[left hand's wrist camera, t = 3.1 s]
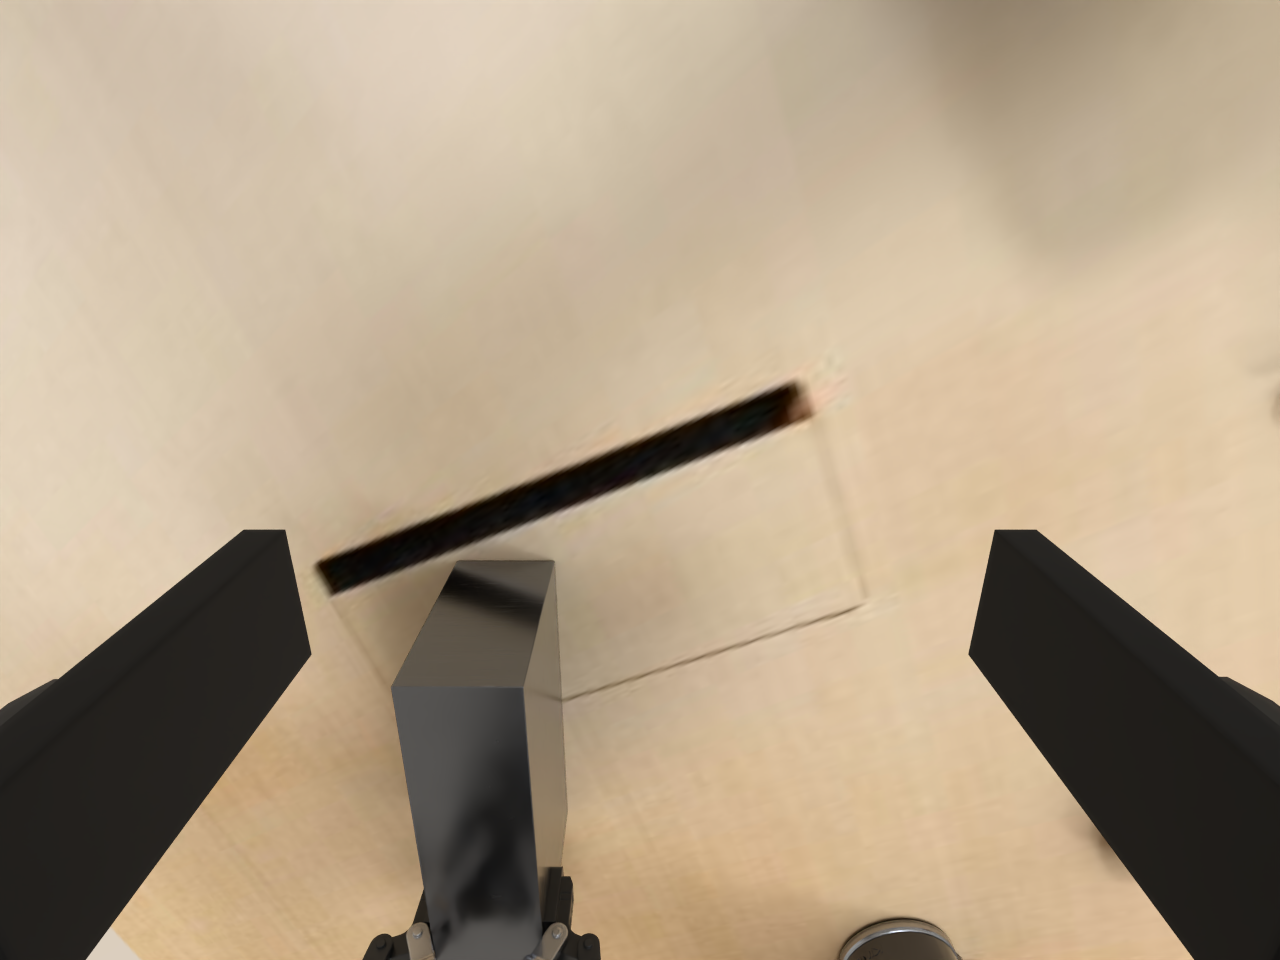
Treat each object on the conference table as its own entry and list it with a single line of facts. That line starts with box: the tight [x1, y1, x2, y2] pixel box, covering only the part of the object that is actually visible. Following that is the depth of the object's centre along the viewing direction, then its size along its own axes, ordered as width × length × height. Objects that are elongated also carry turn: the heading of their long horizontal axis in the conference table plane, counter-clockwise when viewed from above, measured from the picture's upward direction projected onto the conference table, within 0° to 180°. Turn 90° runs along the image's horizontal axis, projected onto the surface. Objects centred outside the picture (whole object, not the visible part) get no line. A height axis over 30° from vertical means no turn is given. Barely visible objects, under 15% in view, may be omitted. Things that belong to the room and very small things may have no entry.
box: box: [391, 561, 567, 960], centre depth 41 cm, size 21×6×12 cm, turn 0°
